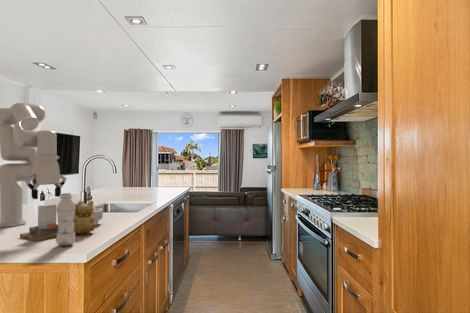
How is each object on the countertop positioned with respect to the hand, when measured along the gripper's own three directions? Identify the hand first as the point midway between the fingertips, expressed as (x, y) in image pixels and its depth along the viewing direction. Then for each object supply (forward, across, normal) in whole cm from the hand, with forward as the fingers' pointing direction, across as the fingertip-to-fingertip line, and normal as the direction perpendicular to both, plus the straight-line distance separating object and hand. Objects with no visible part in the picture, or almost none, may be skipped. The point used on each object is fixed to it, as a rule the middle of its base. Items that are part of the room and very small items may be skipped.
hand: (46, 197), depth 139 cm
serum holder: (+17, 0, 0) cm, 17 cm away
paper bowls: (+17, -23, -6) cm, 29 cm away
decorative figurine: (+17, -10, +12) cm, 23 cm away
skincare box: (+15, 0, 0) cm, 15 cm away
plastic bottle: (+17, +5, +23) cm, 29 cm away
